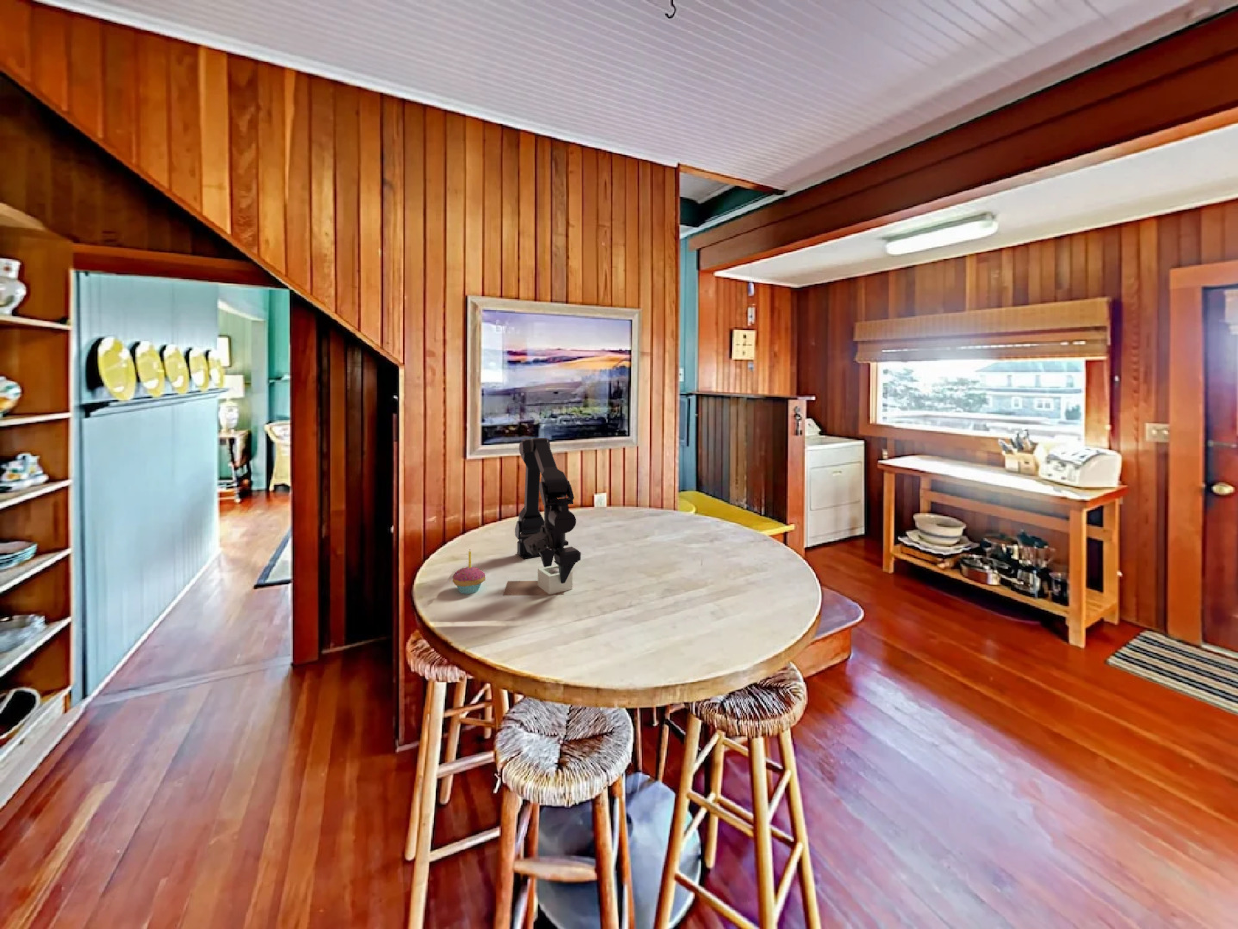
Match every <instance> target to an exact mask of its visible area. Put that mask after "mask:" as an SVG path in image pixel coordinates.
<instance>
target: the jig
mask: <svg viewBox="0 0 1238 929" xmlns="http://www.w3.org/2000/svg"><path fill="white" fill-rule="evenodd" d="M556 573H559V569H558V568H552V569H550V574H556ZM564 593H565V591H562V592H558V593H553V594H548V593H547V592H546V591H544V590H543V589H542V588H540V587H539V586H538V580H507V582H506V586H505V589H504V591H503V594H502V596H562V595H563V596H564V595H565V594H564Z"/></svg>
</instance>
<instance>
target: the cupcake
mask: <svg viewBox="0 0 1238 929" xmlns="http://www.w3.org/2000/svg"><path fill="white" fill-rule="evenodd" d="M485 581H486V574H485V572H484V571H483V570H482V568H478V567H474V566H472V551H471V550H469V551H468V566H465V567H462V568H460V569H458V570H457V571H456V572H454V573H453V576H452V583H453V584H454V585H455V586H456V587H457V590H458V592H459V593H461V594H475V593H476V592H478V591H479V590H480V588H481V585H482V583H483V582H485Z"/></svg>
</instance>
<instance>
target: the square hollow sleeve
mask: <svg viewBox="0 0 1238 929" xmlns="http://www.w3.org/2000/svg"><path fill="white" fill-rule="evenodd" d="M552 568H558V569H559V566H558V565H557V564H553V565H551V566H548V567H544V566H543V567H538V568H537V581H538V586H539V587H540V588H542V589H543V590H544V591H546V592H547V593H548V594H553V593H558V592H562V591H564V592H565V591H569V590H573V571H572V570H571V572H570V574H569V576H568V578H567V580H566V582H565V583H563V584H562V583H561V581H560V574H559V573H556V574H550V569H552Z"/></svg>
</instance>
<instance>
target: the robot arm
mask: <svg viewBox="0 0 1238 929" xmlns="http://www.w3.org/2000/svg"><path fill="white" fill-rule="evenodd" d="M518 445H519V446H518V451H519V455H520V457H521V459H522V461H523V463H524V464H525V475H524V476H525V479H524V499H523V500H524V502H523V503H524V505H523V508H522V509H521V511H520V512H519V513H518V520H517V521H516V523H515V527H514V535H515V537H516V539H517V540H518V541H517V543H516V553H517V554H518V556H520V557H521V558H523V559H529V558H536V557H540V559H541V562H542V566H543V567H548V566H553V565H552V564H553V562H554V563H555V565H558V566H559V574H560V581H561V583H562V584H563V583H565V582H566V580H567V578H568V576H569V574H570V572H571V571H572V570H573V568H574V566H575V564H576V563H579V561H581V560H582V552H581V551H580V550H579V549H578V548H575V547H573V546H569V541H568V540H566V533H569V532H571V531H572V530H574V529H575V527H576V524H577V518H576V516H575V514H574V513H573V512H572V511H571V510H570V509H569V508H570V507H569V505H573V504H574V500H575V496H574V492H573V487H572V485H571V483H570V481H569V479H568V478H567V476H566V474H565V473H564V471H562V470H560V469H558V467H557V463H556V460H555V458H554V455H553V453H552V450H551V440H550V439H549V438H547V437H534V438H524V439H522V441H521V442H519V444H518ZM540 497H541V498H540ZM540 499H541V502H542V504H543V516H542V513H541V511H540V509H539V508H540V507H539V505H540ZM565 546H566V547H565ZM567 546H569V547H567Z"/></svg>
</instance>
